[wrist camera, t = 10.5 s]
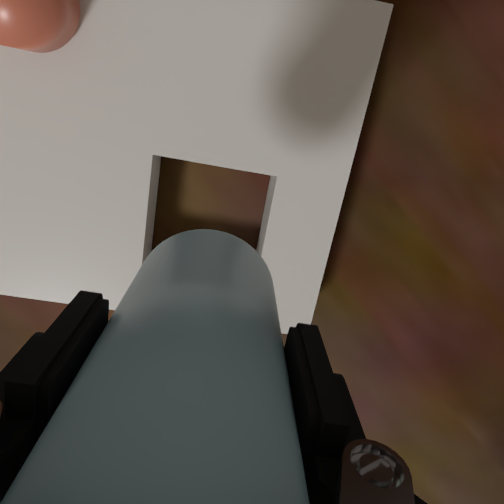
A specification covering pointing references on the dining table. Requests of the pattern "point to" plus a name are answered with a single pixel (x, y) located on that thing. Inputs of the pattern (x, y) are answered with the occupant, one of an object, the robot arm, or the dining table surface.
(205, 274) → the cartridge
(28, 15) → the knob
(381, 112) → the dining table surface
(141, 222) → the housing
